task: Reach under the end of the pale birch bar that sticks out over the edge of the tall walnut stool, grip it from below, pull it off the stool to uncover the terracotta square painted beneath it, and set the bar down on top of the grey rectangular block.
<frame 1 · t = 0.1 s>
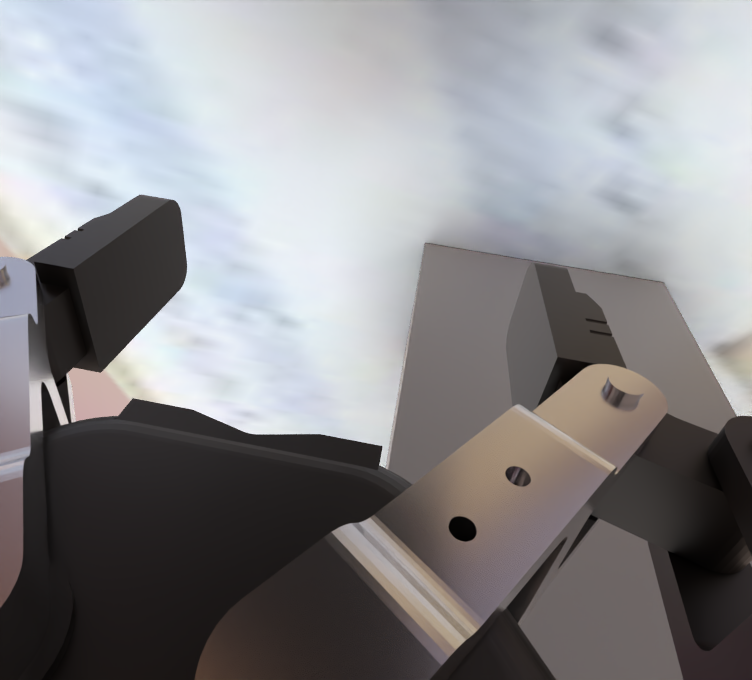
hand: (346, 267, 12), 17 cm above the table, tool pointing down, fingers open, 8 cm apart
grey rectangular block: (521, 323, 32), on the table
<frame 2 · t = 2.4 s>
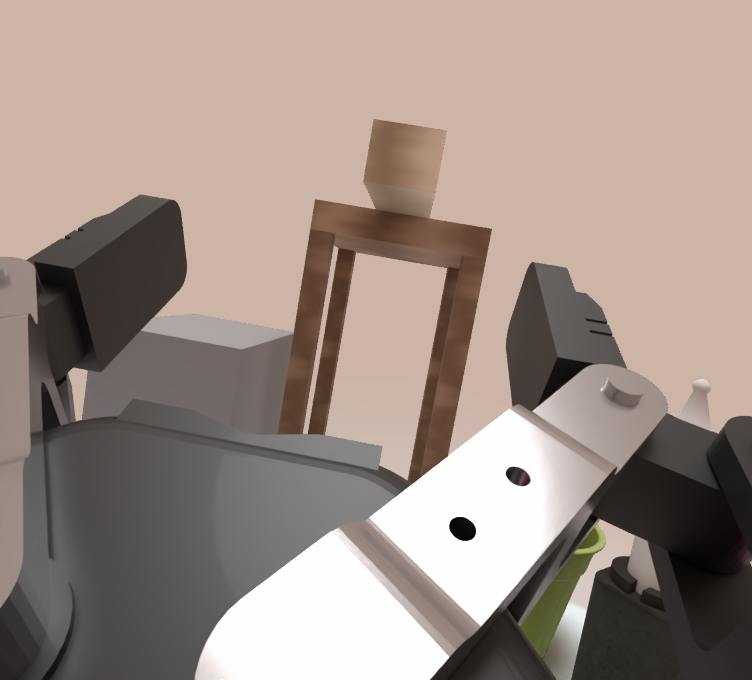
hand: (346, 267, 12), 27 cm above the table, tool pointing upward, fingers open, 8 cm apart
plant pot: (500, 641, 42), on the table
grey rectangular block: (172, 612, 38), on the table
birch bar: (403, 220, 37), point 32 cm above the table, touching walnut stool
walnut stool: (339, 594, 44), on the table
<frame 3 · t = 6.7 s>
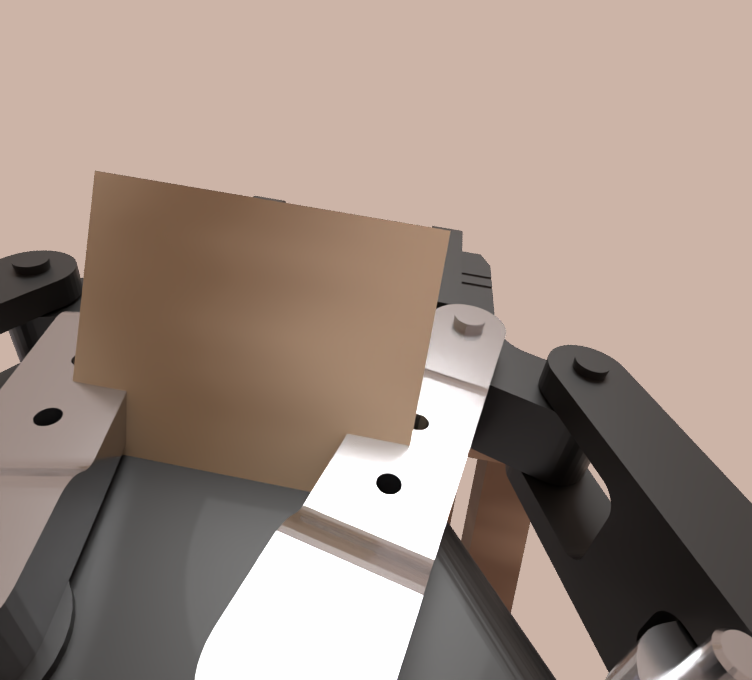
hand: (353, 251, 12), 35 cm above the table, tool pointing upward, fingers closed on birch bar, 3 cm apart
birch bar: (355, 349, 17), point 32 cm above the table, touching gripper, walnut stool
when the fingers open (27 cm above the table, at t = 13.7 s): birch bar drops 2 cm, resting on grey rectangular block.
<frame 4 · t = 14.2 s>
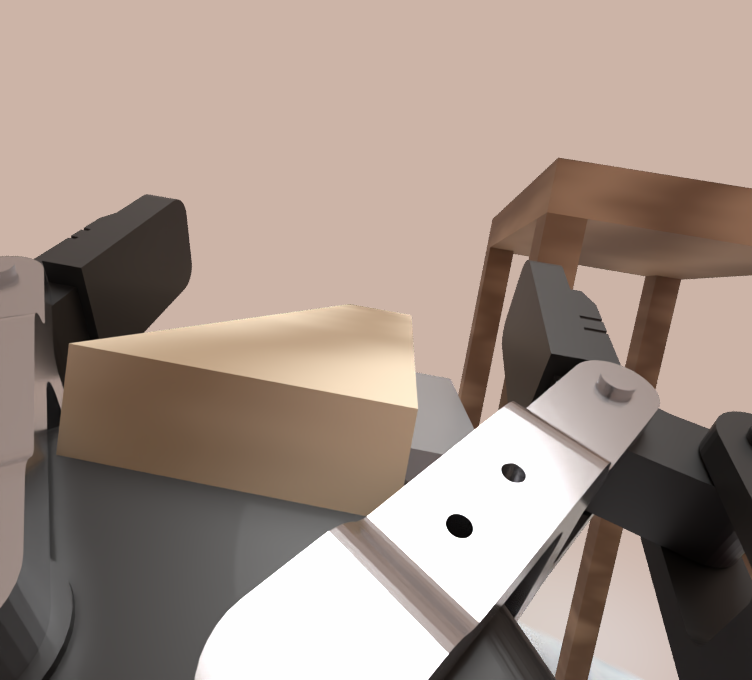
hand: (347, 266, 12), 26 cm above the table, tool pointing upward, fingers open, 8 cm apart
birch bar: (344, 405, 17), point 22 cm above the table, touching grey rectangular block
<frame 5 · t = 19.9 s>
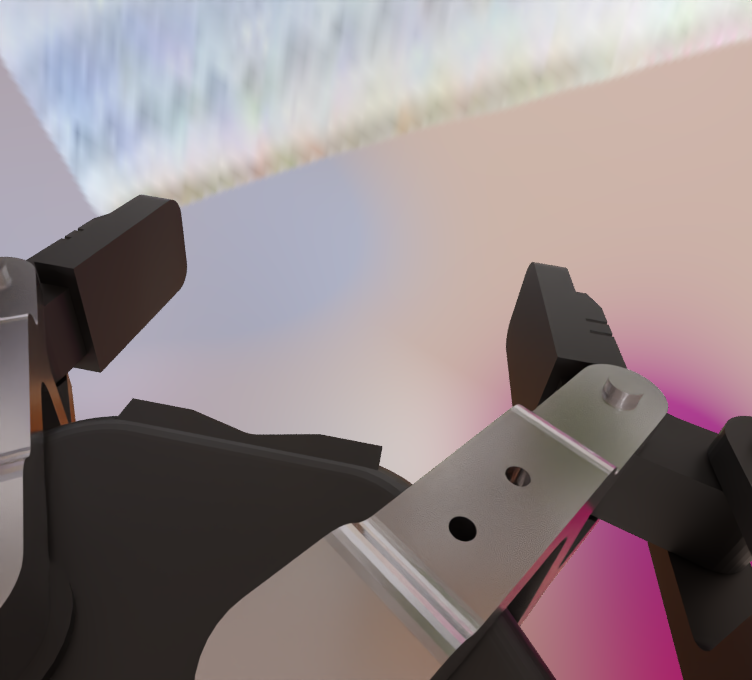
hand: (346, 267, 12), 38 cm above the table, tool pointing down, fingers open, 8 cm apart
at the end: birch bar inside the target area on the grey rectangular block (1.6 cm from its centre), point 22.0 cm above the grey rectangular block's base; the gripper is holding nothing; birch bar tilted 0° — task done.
